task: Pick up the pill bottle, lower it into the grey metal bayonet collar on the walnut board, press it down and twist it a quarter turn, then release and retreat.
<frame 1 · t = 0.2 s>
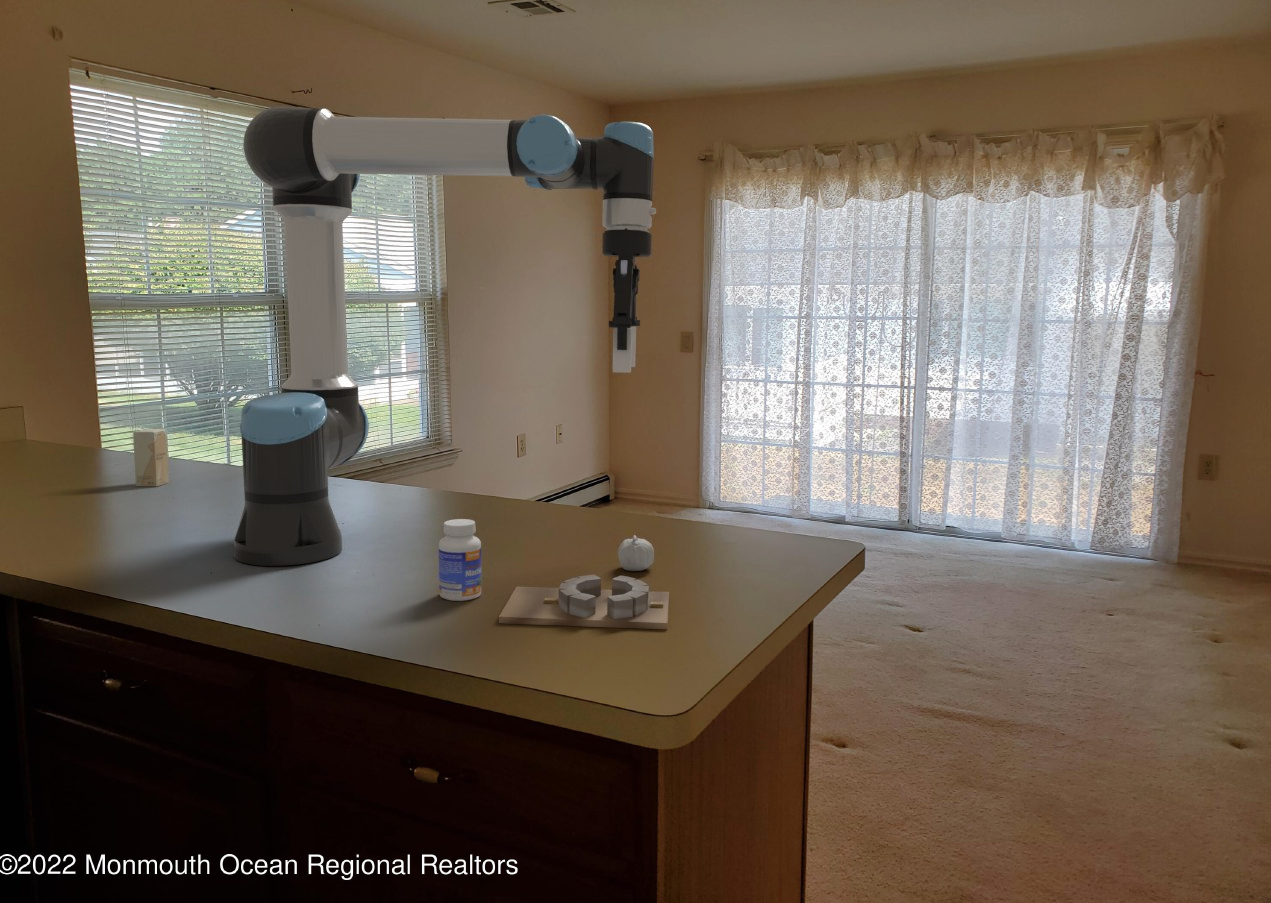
hand: (624, 369, 144), 28 cm above the worktop, fingers open, 13 cm apart
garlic: (635, 570, 133), on the worktop
pill bottle: (460, 596, 120), on the worktop
socket board: (587, 609, 115), on the worktop
box: (152, 485, 186), on the worktop
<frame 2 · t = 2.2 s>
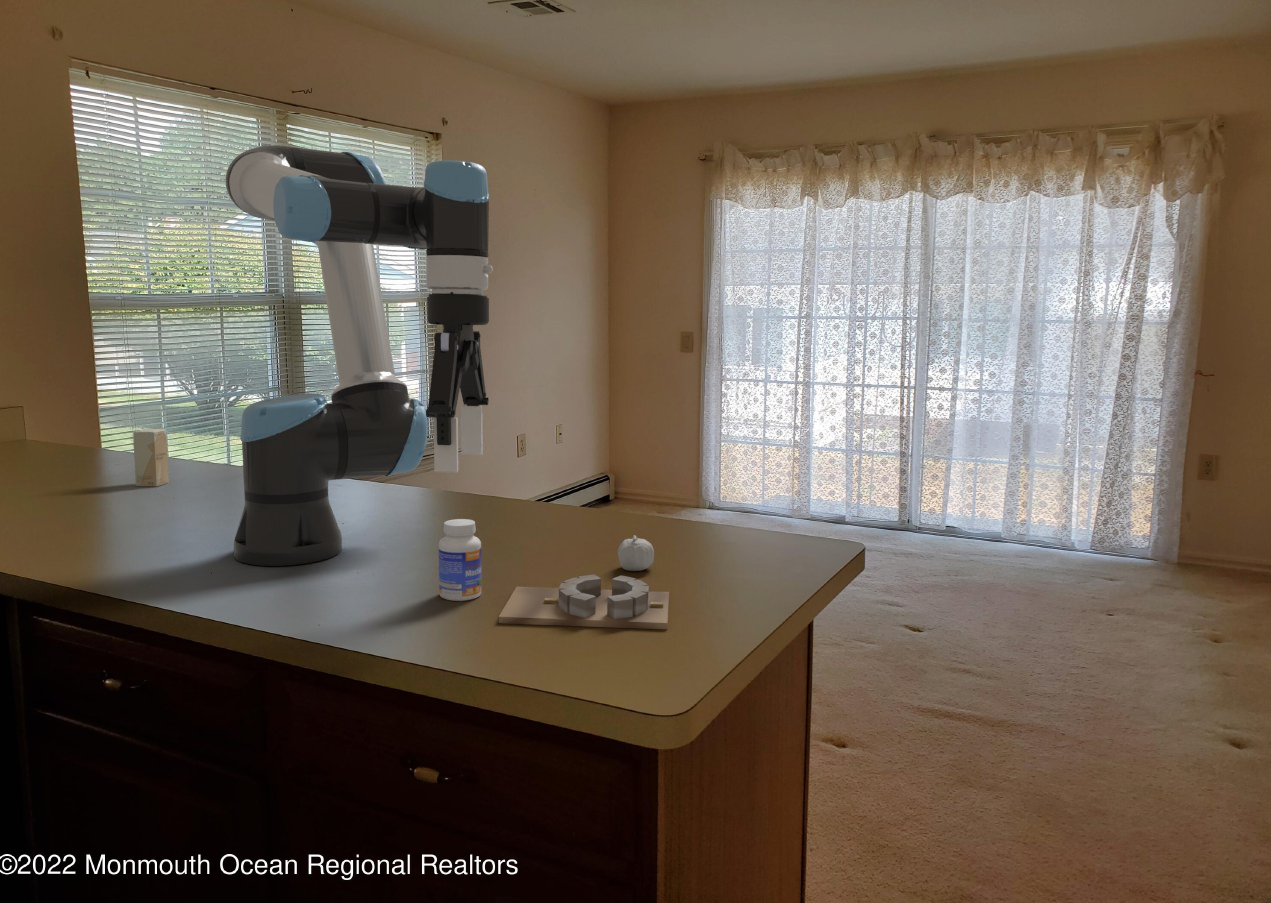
hand: (460, 462, 117), 17 cm above the worktop, fingers open, 13 cm apart
nothing on the worktop moved.
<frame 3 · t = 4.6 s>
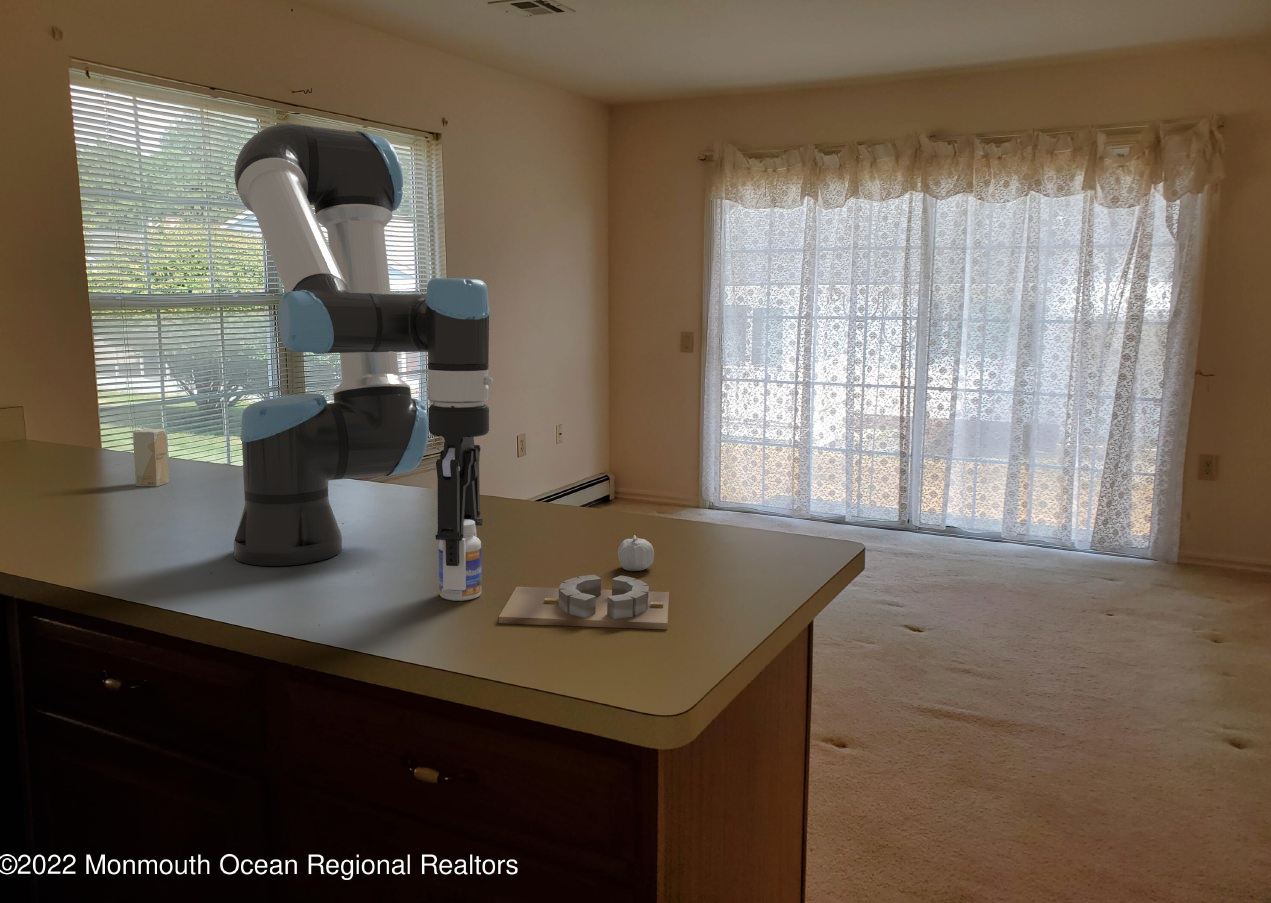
hand: (460, 581, 119), 2 cm above the worktop, fingers closed on pill bottle, 5 cm apart
pill bottle: (460, 596, 120), on the worktop, touching gripper
everything else where it was.
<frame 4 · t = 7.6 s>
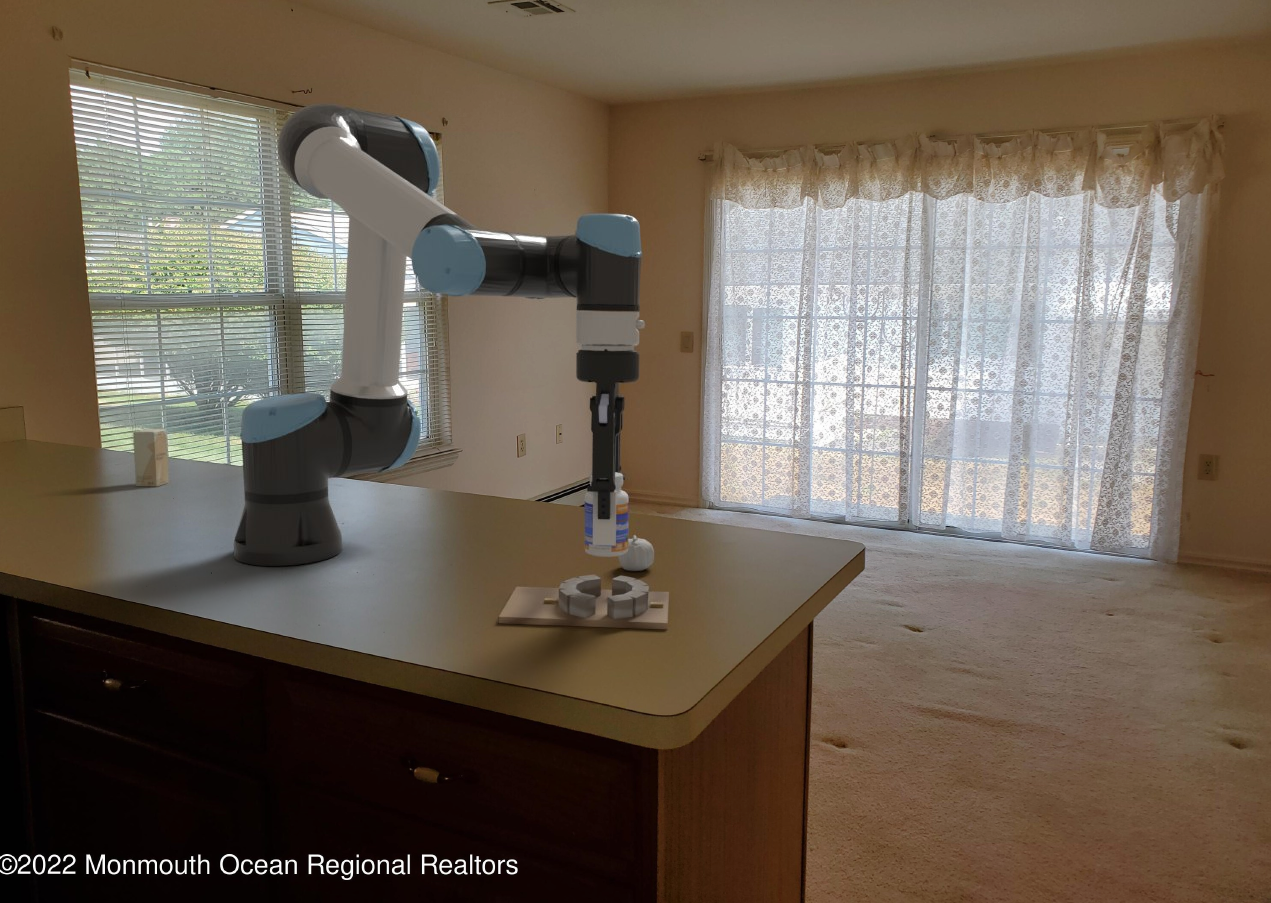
hand: (606, 537, 113), 9 cm above the worktop, fingers closed on pill bottle, 5 cm apart
pill bottle: (606, 553, 113), point 7 cm above the worktop, touching gripper
everything else where it was.
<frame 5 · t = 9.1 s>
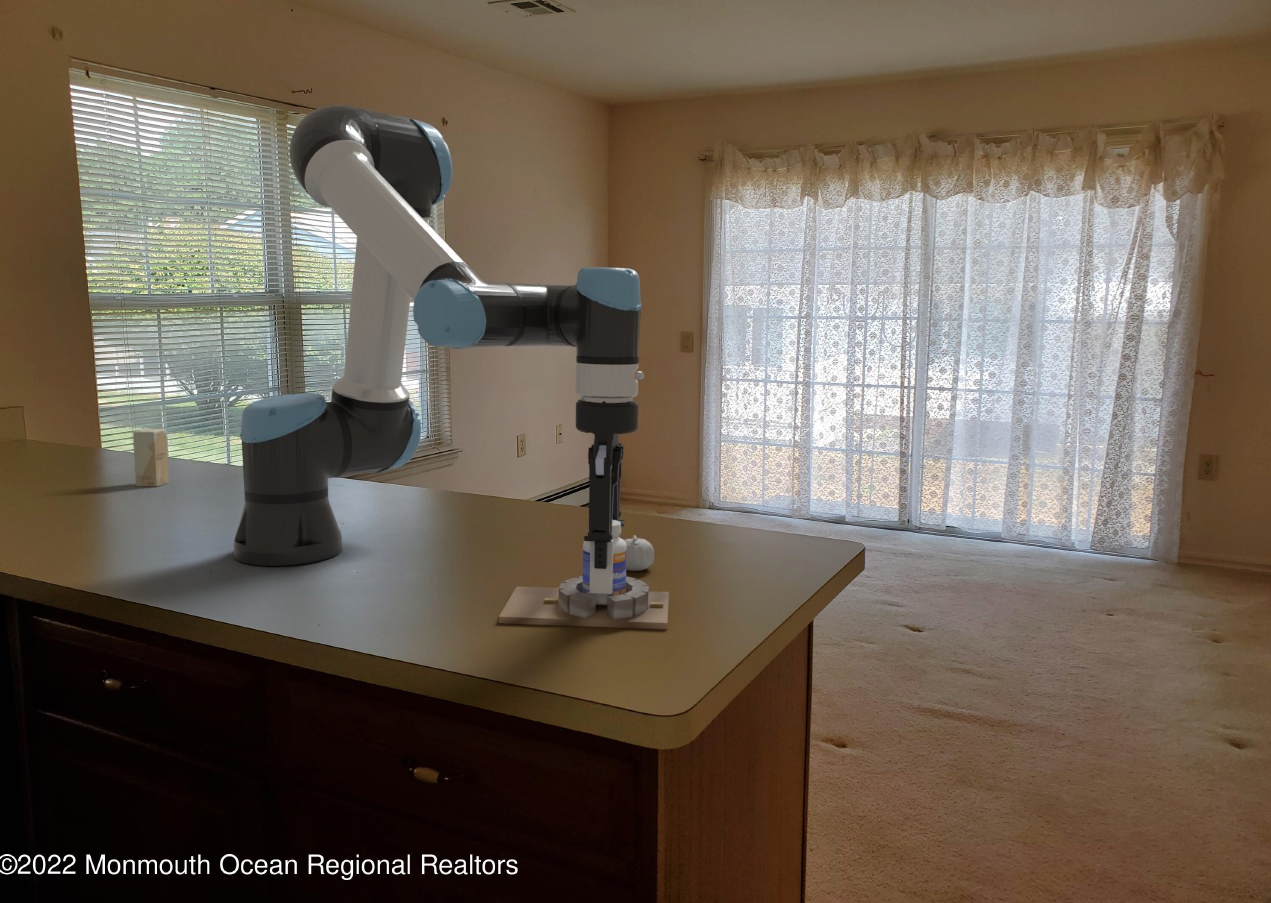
hand: (604, 584, 114), 3 cm above the worktop, fingers closed on pill bottle, 5 cm apart
pill bottle: (603, 600, 115), point 1 cm above the worktop, touching gripper
everything else where it was.
when the fingers open (3 cm above the worktop, at t = 10.8 s): pill bottle stays where it is, resting on socket board.
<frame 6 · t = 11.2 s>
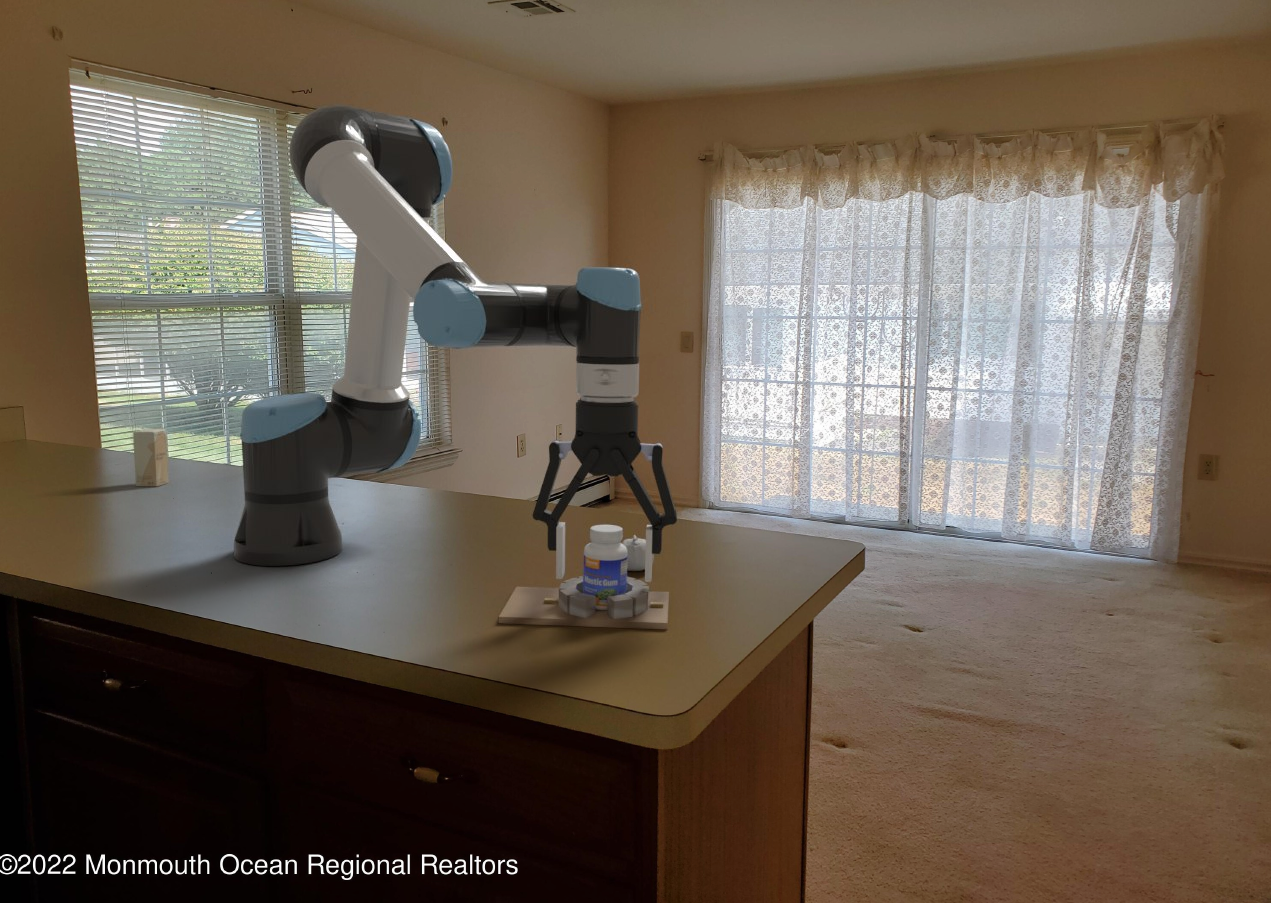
hand: (604, 577, 114), 4 cm above the worktop, fingers open, 10 cm apart
pill bottle: (604, 605, 115), point 1 cm above the worktop, touching socket board
everything else where it was.
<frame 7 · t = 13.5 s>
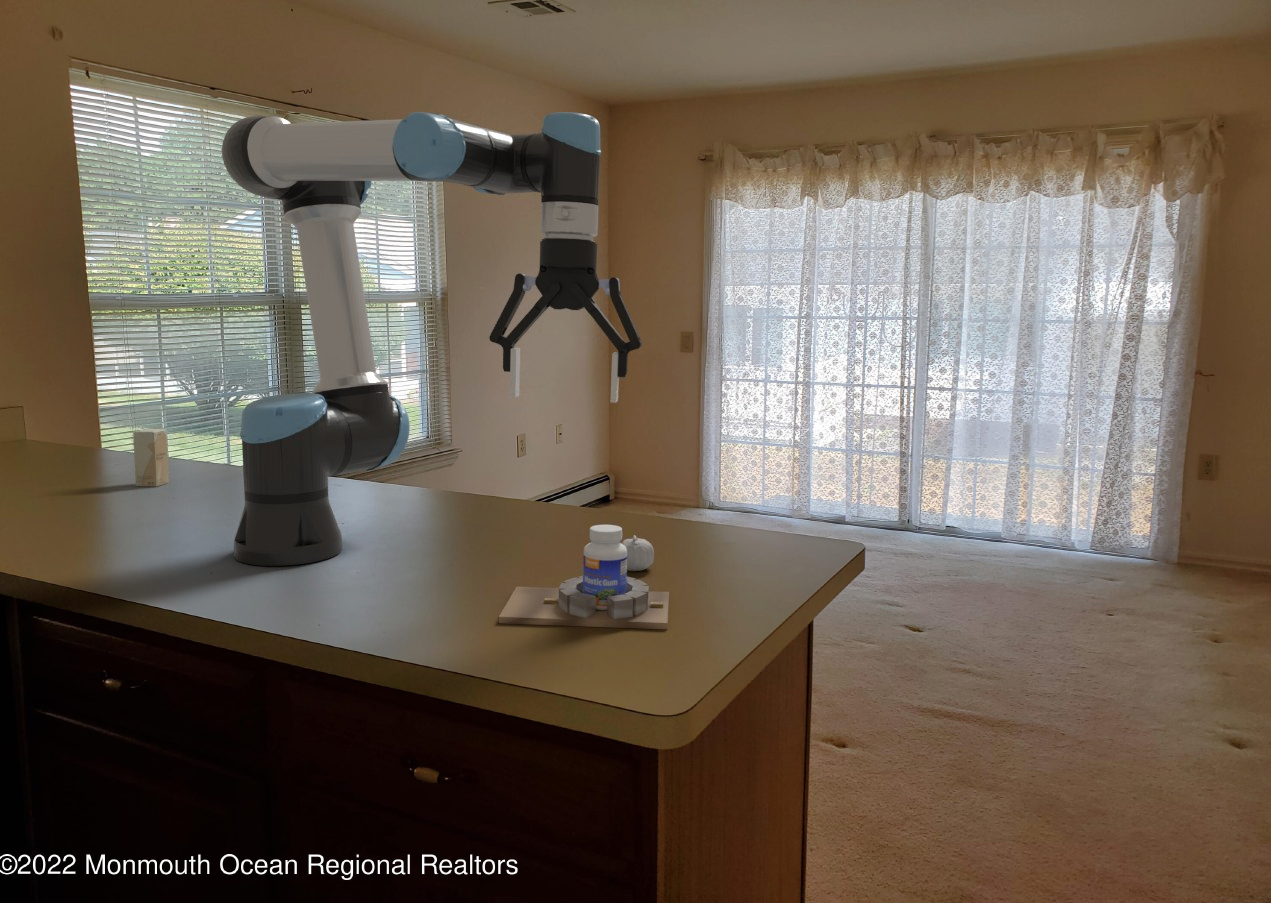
hand: (564, 399, 125), 25 cm above the worktop, fingers open, 13 cm apart
nothing on the worktop moved.
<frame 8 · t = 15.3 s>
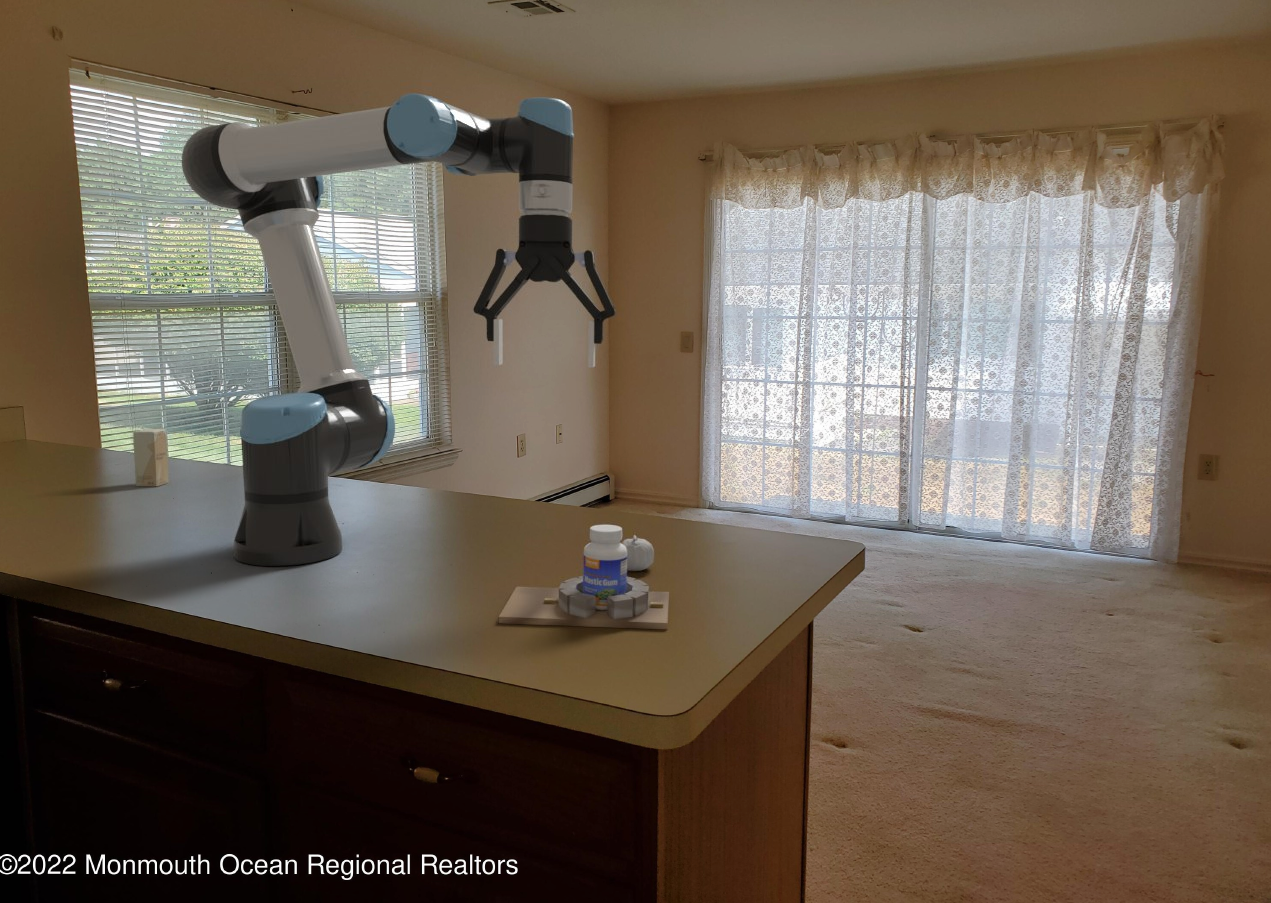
hand: (544, 366, 133), 29 cm above the worktop, fingers open, 13 cm apart
nothing on the worktop moved.
at the end: pill bottle 0.1 cm from the target spot on the socket board, point 0.6 cm above the socket board's base; pill bottle tilted 0°; the gripper is holding nothing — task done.
